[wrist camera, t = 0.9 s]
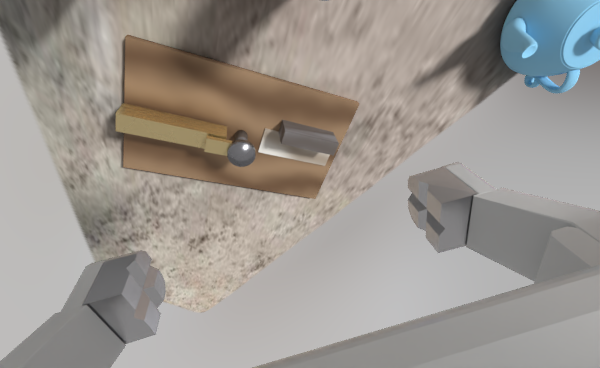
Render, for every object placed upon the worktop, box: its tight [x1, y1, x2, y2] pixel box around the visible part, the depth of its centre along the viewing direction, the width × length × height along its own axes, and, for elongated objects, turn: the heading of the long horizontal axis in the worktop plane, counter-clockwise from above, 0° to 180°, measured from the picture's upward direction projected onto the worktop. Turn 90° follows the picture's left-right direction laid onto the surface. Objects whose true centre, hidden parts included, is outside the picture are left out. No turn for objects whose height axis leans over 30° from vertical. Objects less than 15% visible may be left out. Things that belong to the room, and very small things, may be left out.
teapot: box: [500, 0, 600, 93], centre depth 38 cm, size 15×15×10 cm
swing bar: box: [116, 103, 256, 167], centre depth 39 cm, size 17×4×5 cm, turn 71°
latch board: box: [123, 35, 359, 199], centre depth 43 cm, size 18×30×5 cm, turn 71°
